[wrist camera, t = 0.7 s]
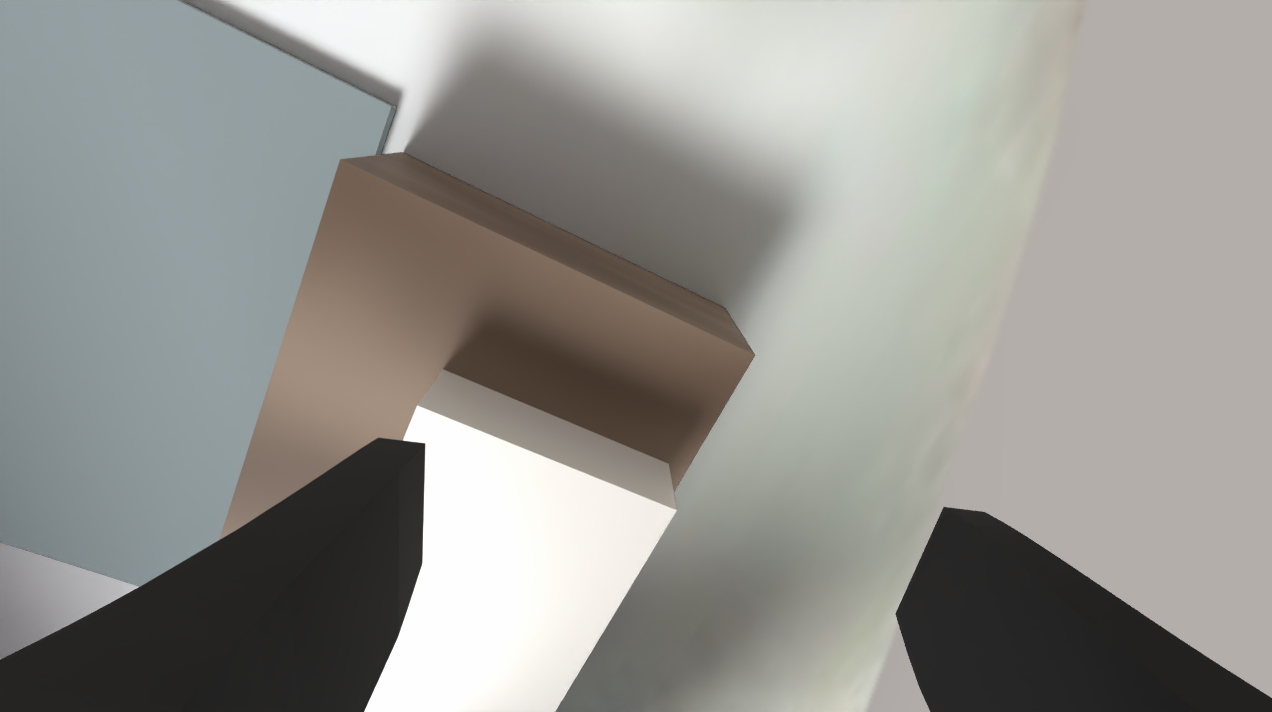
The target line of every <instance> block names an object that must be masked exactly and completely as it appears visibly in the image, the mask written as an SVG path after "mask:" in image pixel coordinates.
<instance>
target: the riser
mask: <svg viewBox="0 0 1272 712" xmlns="http://www.w3.org/2000/svg"><path fill="white" fill-rule="evenodd" d="M754 356H755V354H754V352H753V351H752V349H751V348H750V346H749V345H748V343H747V341H746V340H745V338H744V337H743V335H742V334H741V332H740V330H739V329H738V327H737V326H736V324H735V323H734V321H733V319H732V318H731V316H730V315H729V313H728V312H727V310H726V308H723V307H721V306H719V305H717V304H715V303H713V302H711V301H709V300H707V299H705V298H703V297H701V296H699V295H697V294H695V293H692V292H690V291H688V290H686V289H684V288H682V287H680V286H678V285H676V284H674V283H672V282H670V281H668V280H666V279H663V278H661V277H659V276H657V275H655V274H653V273H651V272H649V271H647V270H645V269H643V268H641V267H639V266H637V265H635V264H632V263H630V262H628V261H626V260H624V259H622V258H620V257H618V256H616V255H614V254H612V253H610V252H608V251H606V250H604V249H601V248H599V247H597V246H595V245H593V244H591V243H589V242H587V241H585V240H583V239H581V238H579V237H577V236H575V235H572V234H570V233H568V232H566V231H564V230H562V229H560V228H558V227H556V226H554V225H552V224H550V223H548V222H546V221H544V220H541V219H539V218H537V217H535V216H533V215H531V214H529V213H527V212H525V211H523V210H521V209H519V208H517V207H515V206H513V205H510V204H508V203H506V202H504V201H502V200H500V199H498V198H496V197H494V196H492V195H490V194H488V193H486V192H484V191H481V190H479V189H477V188H475V187H473V186H471V185H469V184H467V183H465V182H463V181H461V180H459V179H457V178H455V177H453V176H450V175H448V174H446V173H444V172H442V171H440V170H438V169H436V168H434V167H432V166H430V165H428V164H426V163H424V162H422V161H419V160H417V159H415V158H413V157H411V156H409V155H407V154H405V153H403V152H400V153H391V154H382V155H373V156H364V157H355V158H347V159H340V161H339V164H338V167H337V171H336V174H335V177H334V180H333V183H332V186H331V189H330V193H329V196H328V199H327V202H326V205H325V208H324V211H323V215H322V218H321V221H320V224H319V227H318V230H317V233H316V237H315V240H314V243H313V246H312V249H311V252H310V256H309V259H308V262H307V265H306V268H305V271H304V274H303V278H302V281H301V284H300V287H299V290H298V293H297V296H296V300H295V303H294V306H293V309H292V312H291V315H290V319H289V322H288V325H287V328H286V331H285V334H284V337H283V341H282V344H281V347H280V350H279V353H278V356H277V359H276V363H275V366H274V369H273V372H272V375H271V378H270V381H269V385H268V388H267V391H266V394H265V397H264V400H263V404H262V407H261V410H260V413H259V416H258V419H257V422H256V426H255V429H254V432H253V435H252V438H251V441H250V444H249V448H248V451H247V454H246V457H245V460H244V463H243V466H242V470H241V473H240V476H239V479H238V482H237V485H236V489H235V492H234V495H233V498H232V501H231V504H230V507H229V511H228V514H227V517H226V520H225V523H224V526H223V529H222V533H221V536H220V539H222V538H223V537H225V536H227V535H229V534H230V533H232V532H234V531H235V530H237V529H239V528H240V527H242V526H243V525H245V524H247V523H248V522H250V521H251V520H253V519H254V518H256V517H257V516H259V515H261V514H262V513H264V512H265V511H267V510H268V509H270V508H271V507H273V506H274V505H276V504H278V503H279V502H281V501H282V500H284V499H285V498H287V497H288V496H290V495H292V494H293V493H295V492H296V491H298V490H299V489H301V488H302V487H304V486H305V485H307V484H308V483H310V482H311V481H313V480H314V479H316V478H317V477H319V476H320V475H322V474H323V473H325V472H326V471H328V470H329V469H331V468H332V467H334V466H335V465H337V464H338V463H340V462H341V461H343V460H344V459H346V458H347V457H349V456H350V455H352V454H353V453H355V452H356V451H358V450H359V449H361V448H362V447H364V446H365V445H367V444H369V443H370V442H372V441H373V440H375V439H377V438H386V439H395V440H403V439H404V436H405V434H406V431H407V429H408V426H409V424H410V422H411V419H412V417H413V414H414V412H415V409H416V407H417V405H418V403H419V402H420V401H421V399H422V398H423V396H424V395H425V393H426V392H427V391H428V389H429V388H430V386H431V385H432V384H433V382H434V381H435V379H436V378H437V376H438V375H439V374H440V372H441V371H442V369H444V370H446V371H449V372H451V373H453V374H456V375H458V376H460V377H463V378H465V379H468V380H470V381H472V382H475V383H477V384H480V385H482V386H484V387H487V388H489V389H491V390H494V391H496V392H499V393H501V394H503V395H506V396H508V397H511V398H513V399H515V400H518V401H520V402H522V403H525V404H527V405H530V406H532V407H534V408H537V409H539V410H542V411H544V412H546V413H549V414H551V415H553V416H556V417H558V418H561V419H563V420H565V421H568V422H570V423H573V424H575V425H577V426H580V427H582V428H584V429H587V430H589V431H592V432H594V433H596V434H599V435H601V436H604V437H606V438H608V439H611V440H613V441H615V442H618V443H620V444H623V445H625V446H627V447H630V448H632V449H635V450H637V451H639V452H642V453H644V454H646V455H649V456H651V457H654V458H656V459H658V460H661V461H663V462H666V463H668V464H669V468H670V474H671V479H672V485H673V491H675V489H676V487H677V486H678V484H679V482H680V481H681V479H682V477H683V476H684V474H685V472H686V471H687V469H688V467H689V466H690V464H691V462H692V461H693V459H694V457H695V456H696V454H697V452H698V450H699V449H700V447H701V445H702V444H703V442H704V440H705V439H706V437H707V435H708V434H709V432H710V430H711V429H712V427H713V425H714V424H715V422H716V420H717V419H718V417H719V415H720V414H721V412H722V410H723V408H724V407H725V405H726V403H727V402H728V400H729V398H730V397H731V395H732V393H733V392H734V390H735V388H736V387H737V385H738V383H739V382H740V380H741V378H742V377H743V375H744V373H745V372H746V370H747V368H748V366H749V365H750V363H751V361H752V360H753V358H754ZM220 539H219V540H220Z"/></svg>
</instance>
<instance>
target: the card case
mask: <svg viewBox="0 0 1272 712" xmlns="http://www.w3.org/2000/svg"><path fill="white" fill-rule="evenodd" d="M403 441H411V442H419V443H425V484H424V525H423V564H422V567H421V570H420V573H419V576H418V579H417V582H416V585H415V589H414V592H413V595H412V598H411V601H410V604H409V607H408V610H407V613H406V616H405V619H404V622H403V625H402V628H401V631H400V634H399V636H398V639H397V641H396V643H395V645H394V648H393V650H392V652H391V654H390V657H389V659H388V661H387V663H386V665H385V668H384V670H383V672H382V674H381V676H380V678H379V681H378V683H377V685H376V687H375V689H374V692H373V694H372V696H371V698H370V700H369V703H368V705H367V707H366V709H365V711H364V712H555V711H556V710H557V708H558V706H559V705H560V703H561V701H562V700H563V698H564V696H565V695H566V693H567V691H568V690H569V688H570V686H571V685H572V683H573V681H574V680H575V678H576V676H577V675H578V673H579V671H580V670H581V668H582V666H583V665H584V663H585V662H586V660H587V658H588V657H589V655H590V653H591V652H592V650H593V648H594V647H595V645H596V643H597V642H598V640H599V638H600V637H601V635H602V633H603V632H604V630H605V628H606V627H607V625H608V623H609V622H610V620H611V618H612V617H613V615H614V614H615V612H616V610H617V609H618V607H619V605H620V604H621V602H622V600H623V599H624V597H625V595H626V594H627V592H628V590H629V589H630V587H631V585H632V584H633V582H634V580H635V579H636V577H637V575H638V574H639V572H640V571H641V569H642V567H643V566H644V564H645V562H646V561H647V559H648V557H649V556H650V554H651V552H652V551H653V549H654V547H655V546H656V544H657V542H658V541H659V539H660V537H661V536H662V534H663V532H664V531H665V529H666V527H667V526H668V524H669V523H670V521H671V519H672V518H673V516H674V514H675V513H676V511H677V508H676V503H675V497H674V491H673V485H672V479H671V474H670V468H669V464H668V463H666V462H663V461H661V460H658V459H656V458H654V457H651V456H649V455H646V454H644V453H642V452H639V451H637V450H635V449H632V448H630V447H627V446H625V445H623V444H620V443H618V442H615V441H613V440H611V439H608V438H606V437H604V436H601V435H599V434H596V433H594V432H592V431H589V430H587V429H584V428H582V427H580V426H577V425H575V424H573V423H570V422H568V421H565V420H563V419H561V418H558V417H556V416H553V415H551V414H549V413H546V412H544V411H542V410H539V409H537V408H534V407H532V406H530V405H527V404H525V403H522V402H520V401H518V400H515V399H513V398H511V397H508V396H506V395H503V394H501V393H499V392H496V391H494V390H491V389H489V388H487V387H484V386H482V385H480V384H477V383H475V382H472V381H470V380H468V379H465V378H463V377H460V376H458V375H456V374H453V373H451V372H449V371H446V370H444V369H442V371H441V372H440V374H439V375H438V376H437V378H436V379H435V381H434V382H433V384H432V385H431V386H430V388H429V389H428V391H427V392H426V393H425V395H424V396H423V398H422V399H421V401H420V402H419V403H418V405H417V407H416V409H415V412H414V414H413V417H412V419H411V422H410V424H409V426H408V429H407V431H406V434H405V436H404V439H403Z"/></svg>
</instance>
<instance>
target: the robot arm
mask: <svg viewBox="0 0 1272 712" xmlns="http://www.w3.org/2000/svg"><path fill="white" fill-rule="evenodd" d="M424 484H425V443H419V442H411V441H403V440H395V439H386V438H377V439H375V440H373V441H372V442H370V443H369V444H367V445H365V446H364V447H362V448H361V449H359V450H358V451H356V452H355V453H353V454H352V455H350V456H349V457H347V458H346V459H344V460H343V461H341V462H340V463H338V464H337V465H335V466H334V467H332V468H331V469H329V470H328V471H326V472H325V473H323V474H322V475H320V476H319V477H317V478H316V479H314V480H313V481H311V482H310V483H308V484H307V485H305V486H304V487H302V488H301V489H299V490H298V491H296V492H295V493H293V494H292V495H290V496H288V497H287V498H285V499H284V500H282V501H281V502H279V503H278V504H276V505H274V506H273V507H271V508H270V509H268V510H267V511H265V512H264V513H262V514H261V515H259V516H257V517H256V518H254V519H253V520H251V521H250V522H248V523H247V524H245V525H243V526H242V527H240V528H239V529H237V530H235V531H234V532H232V533H230V534H229V535H227V536H225V537H223V538H222V539H220V540H218V541H217V542H215V543H213V544H212V545H210V546H208V547H206V548H205V549H203V550H201V551H200V552H198V553H196V554H195V555H193V556H191V557H190V558H188V559H186V560H184V561H183V562H181V563H179V564H178V565H176V566H174V567H173V568H171V569H169V570H167V571H166V572H164V573H162V574H161V575H159V576H157V577H156V578H154V579H152V580H150V581H149V582H147V583H145V584H144V585H142V586H140V587H139V588H137V589H135V590H133V591H131V592H130V593H128V594H126V595H124V596H122V597H121V598H119V599H117V600H115V601H113V602H111V603H110V604H108V605H106V606H104V607H102V608H100V609H98V610H97V611H95V612H93V613H91V614H89V615H87V616H85V617H83V618H82V619H80V620H78V621H76V622H74V623H72V624H70V625H68V626H66V627H64V628H62V629H60V630H58V631H57V632H55V633H53V634H51V635H49V636H47V637H45V638H43V639H41V640H39V641H37V642H35V643H33V644H31V645H29V646H27V647H25V648H23V649H21V650H19V651H17V652H15V653H13V654H11V655H9V656H7V657H5V658H3V659H1V660H0V712H364V711H365V709H366V707H367V705H368V703H369V700H370V698H371V696H372V694H373V692H374V689H375V687H376V685H377V683H378V681H379V678H380V676H381V674H382V672H383V670H384V668H385V665H386V663H387V661H388V659H389V657H390V654H391V652H392V650H393V648H394V645H395V643H396V641H397V639H398V636H399V634H400V631H401V628H402V625H403V622H404V619H405V616H406V613H407V610H408V607H409V604H410V601H411V598H412V595H413V592H414V589H415V585H416V582H417V579H418V576H419V573H420V570H421V567H422V564H423V525H424ZM896 617H897V620H898V624H899V627H900V630H901V633H902V636H903V640H904V643H905V647H906V650H907V653H908V656H909V659H910V662H911V665H912V667H913V670H914V673H915V676H916V679H917V682H918V685H919V687H920V690H921V692H922V694H923V696H924V699H925V701H926V703H927V705H928V707H929V710H930V712H1272V698H1270V697H1269V696H1267V695H1266V694H1264V693H1263V692H1261V691H1260V690H1258V689H1256V688H1255V687H1253V686H1252V685H1250V684H1248V683H1247V682H1245V681H1244V680H1242V679H1241V678H1239V677H1238V676H1236V675H1234V674H1233V673H1231V672H1230V671H1228V670H1226V669H1225V668H1223V667H1222V666H1220V665H1219V664H1217V663H1216V662H1214V661H1212V660H1211V659H1209V658H1208V657H1206V656H1204V655H1203V654H1202V653H1200V652H1199V651H1197V650H1196V649H1194V648H1192V647H1191V646H1190V645H1188V644H1186V643H1185V642H1183V641H1182V640H1180V639H1179V638H1177V637H1176V636H1174V635H1173V634H1171V633H1170V632H1168V631H1167V630H1165V629H1164V628H1162V627H1161V626H1159V625H1158V624H1156V623H1155V622H1153V621H1152V620H1150V619H1149V618H1147V617H1146V616H1144V615H1143V614H1141V613H1140V612H1138V611H1137V610H1135V609H1134V608H1132V607H1131V606H1130V605H1128V604H1126V603H1125V602H1124V601H1122V600H1121V599H1119V598H1118V597H1116V596H1115V595H1113V594H1112V593H1110V592H1109V591H1107V590H1106V589H1104V588H1103V587H1101V586H1100V585H1099V584H1097V583H1095V582H1094V581H1093V580H1091V579H1090V578H1088V577H1087V576H1085V575H1084V574H1082V573H1081V572H1079V571H1078V570H1076V569H1075V568H1073V567H1072V566H1070V565H1069V564H1067V563H1066V562H1064V561H1063V560H1061V559H1060V558H1058V557H1057V556H1055V555H1054V554H1052V553H1051V552H1049V551H1048V550H1046V549H1045V548H1043V547H1042V546H1040V545H1039V544H1037V543H1035V542H1034V541H1032V540H1031V539H1029V538H1028V537H1026V536H1025V535H1023V534H1021V533H1020V532H1018V531H1017V530H1015V529H1013V528H1011V527H1010V526H1008V525H1007V524H1005V523H1003V522H1002V521H1000V520H998V519H996V518H994V517H993V516H991V515H989V514H987V513H985V512H979V511H971V510H963V509H955V508H947V507H944V508H943V510H942V512H941V514H940V516H939V519H938V521H937V523H936V525H935V527H934V530H933V532H932V534H931V536H930V539H929V541H928V543H927V545H926V547H925V550H924V552H923V554H922V556H921V559H920V561H919V563H918V565H917V567H916V570H915V572H914V574H913V576H912V579H911V581H910V583H909V585H908V587H907V590H906V592H905V594H904V596H903V598H902V601H901V603H900V605H899V607H898V610H897V612H896Z"/></svg>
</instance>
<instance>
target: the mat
mask: <svg viewBox="0 0 1272 712" xmlns="http://www.w3.org/2000/svg"><path fill="white" fill-rule="evenodd" d="M395 110H396V107H395V106H393V105H391V104H389V103H387V102H385V101H383V100H381V99H379V98H377V97H375V96H373V95H371V94H369V93H367V92H365V91H363V90H361V89H359V88H357V87H355V86H353V85H351V84H349V83H347V82H345V81H343V80H341V79H339V78H337V77H335V76H333V75H331V74H329V73H327V72H325V71H323V70H321V69H319V68H317V67H315V66H313V65H311V64H308V63H306V62H304V61H302V60H300V59H298V58H296V57H294V56H292V55H290V54H288V53H286V52H284V51H282V50H280V49H278V48H276V47H274V46H272V45H270V44H268V43H266V42H264V41H262V40H260V39H258V38H256V37H254V36H252V35H250V34H248V33H246V32H244V31H242V30H240V29H238V28H236V27H234V26H232V25H230V24H228V23H226V22H224V21H222V20H220V19H218V18H216V17H214V16H212V15H210V14H208V13H206V12H204V11H202V10H200V9H198V8H196V7H194V6H192V5H190V4H188V3H186V2H184V1H182V0H0V542H1V543H4V544H7V545H11V546H14V547H17V548H20V549H23V550H26V551H30V552H33V553H36V554H39V555H42V556H45V557H48V558H52V559H55V560H58V561H61V562H64V563H67V564H71V565H74V566H77V567H80V568H83V569H86V570H89V571H93V572H96V573H99V574H102V575H105V576H108V577H111V578H115V579H118V580H121V581H124V582H127V583H130V584H134V585H137V586H142V585H144V584H145V583H147V582H149V581H150V580H152V579H154V578H156V577H157V576H159V575H161V574H162V573H164V572H166V571H167V570H169V569H171V568H173V567H174V566H176V565H178V564H179V563H181V562H183V561H184V560H186V559H188V558H190V557H191V556H193V555H195V554H196V553H198V552H200V551H201V550H203V549H205V548H206V547H208V546H210V545H212V544H213V543H215V542H217V541H218V540H219V539H220V536H221V533H222V529H223V526H224V523H225V520H226V517H227V514H228V511H229V507H230V504H231V501H232V498H233V495H234V492H235V489H236V485H237V482H238V479H239V476H240V473H241V470H242V466H243V463H244V460H245V457H246V454H247V451H248V448H249V444H250V441H251V438H252V435H253V432H254V429H255V426H256V422H257V419H258V416H259V413H260V410H261V407H262V404H263V400H264V397H265V394H266V391H267V388H268V385H269V381H270V378H271V375H272V372H273V369H274V366H275V363H276V359H277V356H278V353H279V350H280V347H281V344H282V341H283V337H284V334H285V331H286V328H287V325H288V322H289V319H290V315H291V312H292V309H293V306H294V303H295V300H296V296H297V293H298V290H299V287H300V284H301V281H302V278H303V274H304V271H305V268H306V265H307V262H308V259H309V256H310V252H311V249H312V246H313V243H314V240H315V237H316V233H317V230H318V227H319V224H320V221H321V218H322V215H323V211H324V208H325V205H326V202H327V199H328V196H329V193H330V189H331V186H332V183H333V180H334V177H335V174H336V171H337V167H338V164H339V161H340V159H347V158H355V157H364V156H373V155H381V152H382V149H383V146H384V143H385V140H386V137H387V134H388V131H389V128H390V125H391V122H392V119H393V116H394V113H395Z"/></svg>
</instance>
